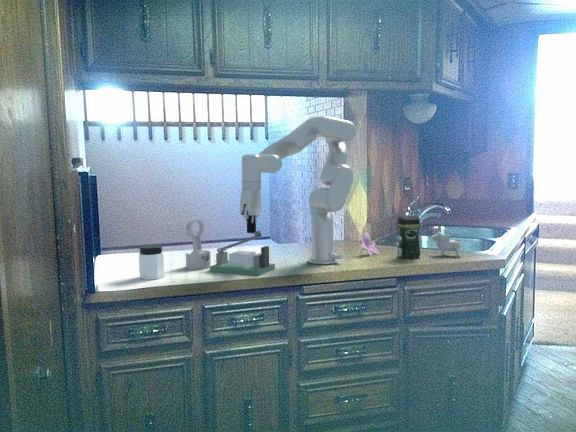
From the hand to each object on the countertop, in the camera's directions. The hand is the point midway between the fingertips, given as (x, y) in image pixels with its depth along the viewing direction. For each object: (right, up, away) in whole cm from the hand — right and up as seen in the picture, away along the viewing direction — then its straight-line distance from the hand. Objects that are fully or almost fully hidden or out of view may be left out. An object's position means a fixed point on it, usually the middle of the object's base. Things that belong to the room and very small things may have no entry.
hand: (251, 232), depth 211 cm
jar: (-37, -17, -7) cm, 42 cm away
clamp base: (-4, -15, +4) cm, 16 cm away
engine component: (-23, -15, +10) cm, 29 cm away
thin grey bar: (-5, -5, +3) cm, 8 cm away
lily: (+51, -11, +34) cm, 62 cm away
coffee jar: (+68, -12, +27) cm, 74 cm away
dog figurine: (+86, -11, +29) cm, 91 cm away
